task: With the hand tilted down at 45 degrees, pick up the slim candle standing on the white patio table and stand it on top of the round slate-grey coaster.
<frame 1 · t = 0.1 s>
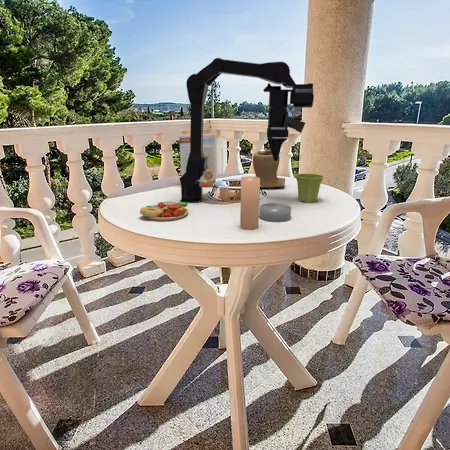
hand: (275, 158, 107), 15 cm above the table, tool pointing down, fingers open, 9 cm apart
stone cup: (268, 188, 134), on the table
candle: (249, 226, 87), on the table
toy food set: (166, 216, 98), on the table
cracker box: (198, 186, 137), on the table
plant pot: (307, 201, 114), on the table
coaster: (274, 217, 95), on the table
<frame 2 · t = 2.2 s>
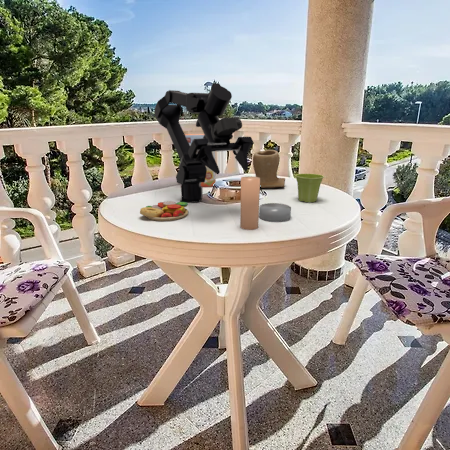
hand: (233, 171, 89), 13 cm above the table, tool tilted 45°, fingers open, 9 cm apart
nothing on the table moved.
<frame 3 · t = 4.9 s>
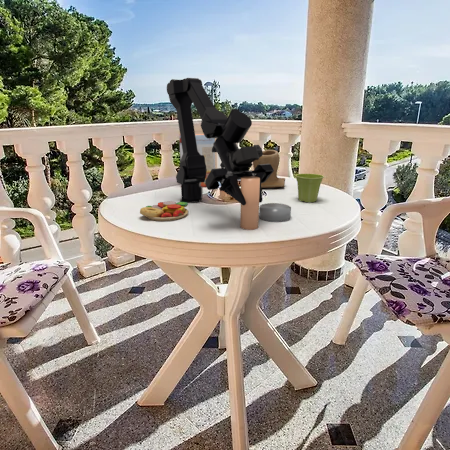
hand: (253, 203, 84), 7 cm above the table, tool tilted 45°, fingers closed on candle, 5 cm apart
candle: (249, 226, 87), on the table, touching gripper
everything else where it was.
when the fingers open (10 cm above the table, at t = 8.1 s): candle stays where it is, resting on coaster.
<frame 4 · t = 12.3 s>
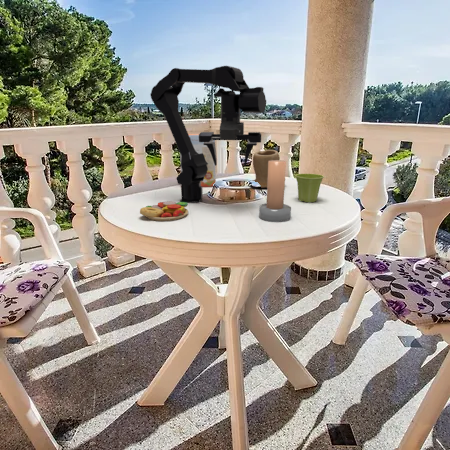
hand: (230, 165, 103), 13 cm above the table, tool pointing down, fingers open, 9 cm apart
candle: (274, 207, 95), point 3 cm above the table, touching coaster
everything else where it was.
at the end: candle 0.1 cm off-centre on the coaster, point 3.0 cm above the coaster's base; candle tilted 0°; the gripper is holding nothing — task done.
